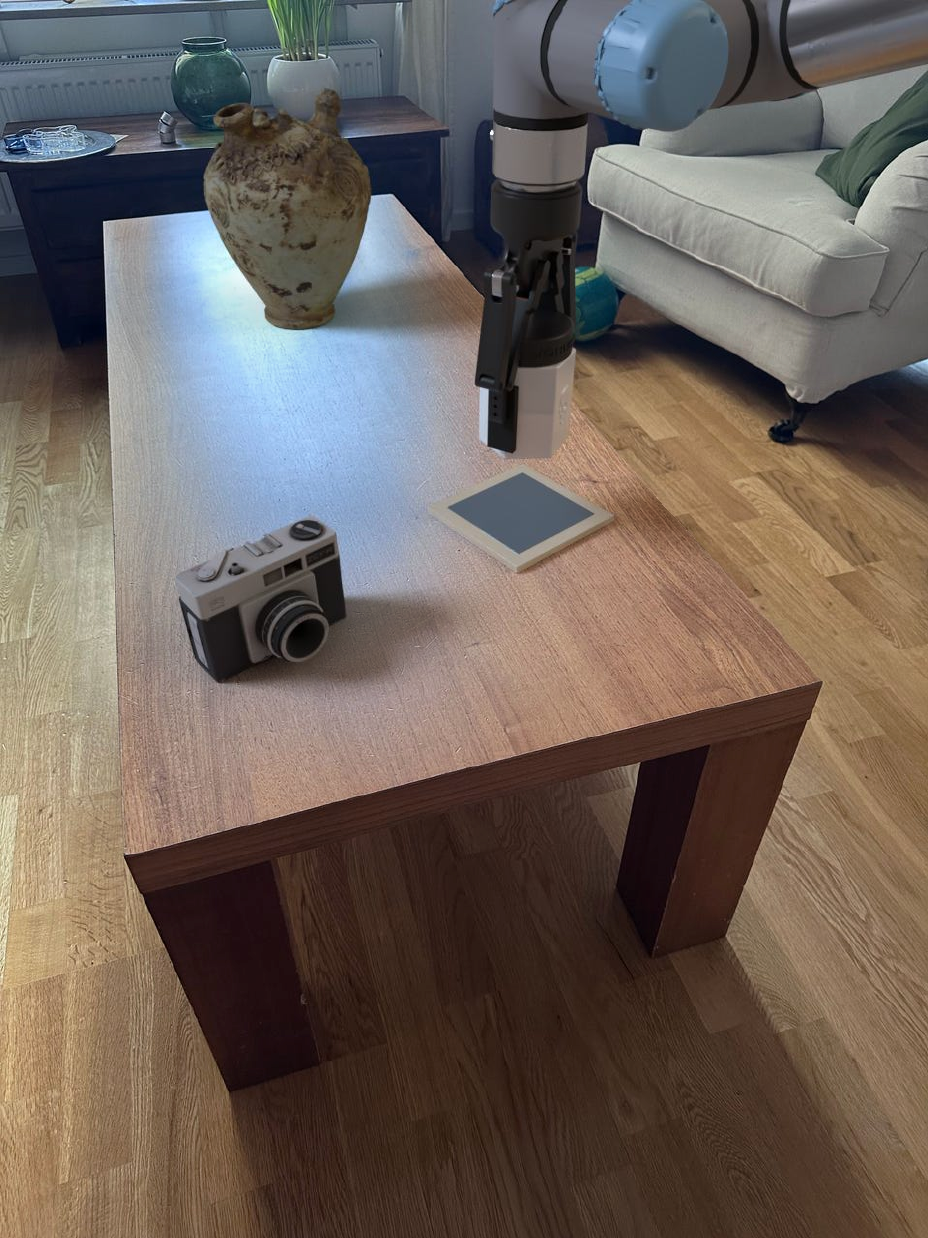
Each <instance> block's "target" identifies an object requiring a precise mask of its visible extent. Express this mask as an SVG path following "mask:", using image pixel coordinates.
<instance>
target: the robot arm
mask: <svg viewBox="0 0 928 1238" xmlns="http://www.w3.org/2000/svg"><path fill="white" fill-rule="evenodd" d="M492 9H493V10H492V18H493V59H492V60H493V62H492V64H493V65H492V66H493V69H492V70H493V71H492V72H493V74H492V75H493V76H492V77H493V78H492V89H493V90H492V109H493V116H492V118H493V119H492V121H493V123H492V124H493V127H492V129H491V130H490V133H489V139H490V140H491V141H492V158H491V159H492V161H491V162H492V165H491V167H492V168H491V172H492V174H493V175H494V176H495V177H496V179H495V180H494V181H493V183H491V186H490V226H491V228H492V229H493V231H494V232H495V233H497V234H499V235H500V236H501V237H502V239H503V240H504V242H505V243H504V244H505V246H504V249H503V250H504V251H503V255H502V259H501V266H500V267H499V268H498V269H494V268H489V267H488V268H486V269H485V271H484V273H483V294H484V295H483V296H484V297H483V298H484V300H483V307H482V316H481V325H480V333H479V341H478V350H477V359H476V366H475V367H476V368H475V374H474V375H475V376H474V385H475V387H477V388H480V387H481V388H485V389H489V390H488V436H487V446H486V447H487V448H489V447H490V448H489V449H491V448H494V449H498V450H501V451H505V452H508V453H512V454H513V453H514V452H515V451H516V441H517V419H518V397H519V386H516V385H514V382H515V378H516V374H517V370H518V365H519V361H520V357H521V353H522V342H523V339H524V338H525V336H526V332H527V327H528V323H529V319H530V315H531V314H532V313H534V312H535V311H536V310H537V308H540V309H544V310H549V311H554V312H558V311H559V312H562V313H564V314H565V315H567V316H568V317H570V318H571V319H572V321H573V323H574V330H576V325H577V318H576V317H577V310H576V309H577V302H576V300H577V299H576V298H577V297H576V295H577V294H576V253H577V245H578V237H579V236H578V231H577V230H578V229H579V227H580V222H581V209H582V197H583V185H581V183H580V182H579V180H580V179H582V178H583V176H584V175H585V170H586V169H585V168H586V166H585V165H586V155H587V140H588V128H589V127H588V126H589V122H588V121H589V114H590V113H591V114H593V115H597V116H599V117H603V118H606V119H609V120H613V121H616V122H619V123H620V124H622V125H624V126H629V127H630V128H632V129H634V130H640V131H644V130H648V129H649V130H654V131H658V132H659V131H660V132H664V133H670V132H677V131H682V130H684V129H687V128H688V127H689V126H690V125H692V124H693V123H694V121H696V120H697V119H698V118H699V117H700V116H702V115H703V114H705V113H706V112H707V111H710V110H715V109H721V108H723V107H724V108H725V107H731V106H732V107H733V106H740V105H747V104H748V105H749V104H755V103H757V104H758V103H765V102H780V101H787V100H793V99H797V98H800V97H802V96H805V95H808V94H810V93H813V92H816V91H818V90H819V89H823V88H828V87H831V86H836V85H840V84H846V83H849V82H855V81H858V80H859V81H860V80H863V79H868V78H872V77H875V76H876V77H877V76H881V75H885V74H889V73H893V72H894V73H895V72H898V71H903V70H907V69H912V68H917V67H921V66H925V65H928V0H495V4H494V6H493V8H492ZM517 298H521V299H517ZM522 299H525V300H522ZM575 339H576V335H574V343H573V345H574V344H575Z"/></svg>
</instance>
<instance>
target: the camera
mask: <svg viewBox="0 0 928 1238" xmlns="http://www.w3.org/2000/svg"><path fill="white" fill-rule="evenodd" d="M262 536H263V538H261V539H259V540H257V541H255V542H250V541H246V542H244V543H243V545H239V546H238V547H230V548H228V549H224V550H221V551H218V552H216V554H214V555H213V556H212V558H210V559H209V560H206V561H204V562H202V563H200V564H197V565H195V566H192V567H190V568H188V569H186V570H183V571H181V572H179V573H178V574H177V575H176V576H175V577H174V579H175V582H176V583H175V584H176V586H177V590H178V593H179V596H178V603H179V605H180V610H181V613H182V617H183V621H184V624H185V629H186V631H187V636H188V639H189V642H190V646H191V650H192V653H193V657H194V659H195V660H196V663H197V664H198V665H199V666H200V667H201V668H202V669H203V670H204V671H205V672H206V673H207V674H208V675H209V676H210V677H211V678H212V679H213V680H214V681H215V682H216V683H218V684H219V683H223V682H224V681H226V680H228V679H230V678H232V677H234V676H236V675H238V674H240V673H242V672H243V671H245V670H248V669H250V668H251V667H254V666H255V665H257V664H259V663H262V662H264V661H266V660H268V659H269V658H271V657H273V656H276V657H277V658H280V659H283V660H284V661H286V662H288V663H301V662H304V661H308V660H309V659H311V658H312V657H314V656H316V655H317V654H318V653H319V652H320V651H321V649H322V648H323V647H324V646H325V644H326V642H327V640H328V637H329V634H330V627H331V626H332V625H334V624H336V623H339V621H342V620H344V619H346V618H347V610H346V602H345V601H346V599H345V593H344V584H343V578H342V577H343V576H342V567H341V555H340V551H339V550H340V549H339V544H338V543H339V542H338V535H337V532H336V531H335V530H334V529H333V528H331V527H330V526H328V525H327V524H326V523H324V522H323V521H321V520H320V519H319V518H317V517H316V516H315V515H308V516H306V517H303V518H301V519H299V520H297V521H294V522H292V523H290V524H288V525H285V526H282V527H280V528H279V529H277V530H276V529H275V530H274V531H271V532H270V533H267V532H266V533H264V534H262Z"/></svg>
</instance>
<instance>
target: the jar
mask: <svg viewBox="0 0 928 1238" xmlns="http://www.w3.org/2000/svg"><path fill="white" fill-rule="evenodd" d="M574 336H575V329H574V323H573V321H572V319H571V318H570V317H568V316H567V315H565V314H564V313H562V312H559V311H558V312H554V311H549V310H544V309H540V308H537V310H536V311H535V312H534V313H532V314H531V315H530V319H529V323H528V327H527V332H526V336H525V338H524V339H523V342H522V353H521V357H520V361H519V365H518V370H517V374H516V378H515V382H514V385H516V386H519V397H518V419H517V441H516V451H515V452H514V453H513V454H512V453H508V452H505V451H501V450H498V449H494V448H490V447H488V448H489V449H491V451H493V452H494V453H496V454H497V455H498V456H499V457H501V458H503V459H504V460H531V459H533V460H534V459H537V460H538V459H551V458H553V456H554V455H555V454H556V453H557V452H558V451H559V449H560V448H562V446H563V444H564V443H565V442H566V441H567V440H568V438H569V434H570V425H571V424H570V423H571V413H572V412H571V411H572V401H573V388H574V377H575V367H576V355H577V349H576V348H575V347H574V344H575V341H574ZM573 343H574V344H573ZM488 390H489V389H485V388H481V387H479V401H478V402H479V405H478V406H479V407H478V413H479V414H478V440H479V441H480V442H481V443H483V445H484V446H486V447H487V436H488Z"/></svg>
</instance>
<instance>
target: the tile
mask: <svg viewBox="0 0 928 1238" xmlns="http://www.w3.org/2000/svg"><path fill="white" fill-rule="evenodd" d="M427 514H428V515H430V516H431V517H433V519H434V518H435V519H436V520H437V521H439V522H440V523H442V524H443V525H445V526H446V527H448V528H449V529H451V530H452V531H454V532H455V533H456V534H459V536H461V537H463V538H464V539H465V540H467V541H469V542H470V543H471V544H473V545H474V546H476V547H477V548H479V549H480V550H481V551H482V552H484V553H486V554H487V555H489V556H490V557H492V558H493V559H495V560H496V561H498V562H500V563H501V564H502V565H504V566H505V567H507V568H508V569H510V570H512V571H513V572H515V573H516V574H519V573H520V572H523V571H524V570H526V569H528V568H530V567H532V566H533V565H536V564H537V563H539V562H541V561H543V560H545V559H546V558H548V557H551V556H552V555H554V554H556V553H557V552H559V551H561V550H563V549H565V548H567V547H569V546H571V545H572V544H574V543H576V542H578V541H580V540H582V539H584V538H585V537H587V536H589V535H591V534H593V533H594V532H597V531H598V530H600V529H602V528H604V527H606V526H608V525H609V524H611V523H614V521H615V515H614V514H613V513H611V512H609V511H608V510H606V509H604V508H602V507H601V506H599V505H597V504H595V503H594V502H592V501H590V500H588V499H586V498H584V497H583V496H581V495H579V494H577V493H576V492H574V491H572V490H571V489H569V488H567V487H565V486H564V485H562V484H560V483H558V482H557V481H555V480H553V479H552V478H549V477H548V476H546V475H545V474H542V473H541V472H539V471H537V470H536V469H533V468H532V467H530V466H528V465H526V463H521V464H519V465H516V466H514V467H512V468H510V469H508V470H506V471H503V472H501V473H499V474H496V475H495V476H493V477H490V478H488V479H486V480H483V481H482V482H478V483H477V484H475V485H472V486H471V487H468V488H466V489H464V490H462V491H459V492H457V493H455V494H452V495H450V496H449V497H447V498H444V499H442V500H440V501H437V502H435V503H433V504H431V505H429V506H427Z"/></svg>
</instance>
